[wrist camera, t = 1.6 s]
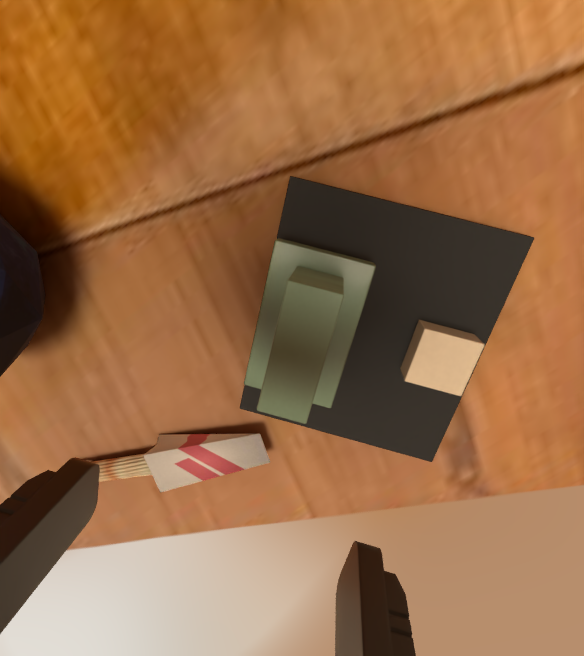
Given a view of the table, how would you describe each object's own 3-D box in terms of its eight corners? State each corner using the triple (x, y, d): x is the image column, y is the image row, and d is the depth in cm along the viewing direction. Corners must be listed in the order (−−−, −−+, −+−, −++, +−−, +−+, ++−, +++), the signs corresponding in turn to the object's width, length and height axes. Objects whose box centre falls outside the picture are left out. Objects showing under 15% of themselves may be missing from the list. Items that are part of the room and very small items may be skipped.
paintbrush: (268, 481, 29) (63, 502, 34) (275, 457, 31) (83, 480, 36) (253, 439, 28) (43, 468, 33) (262, 419, 30) (66, 448, 35)
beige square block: (418, 319, 26) (424, 328, 24) (474, 334, 26) (485, 344, 24) (399, 369, 27) (404, 381, 25) (453, 383, 27) (461, 396, 25)
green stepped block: (281, 235, 25) (260, 248, 18) (372, 259, 25) (384, 280, 18) (252, 368, 29) (224, 420, 22) (331, 390, 28) (329, 449, 22)
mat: (291, 176, 24) (290, 176, 24) (530, 236, 24) (534, 237, 23) (241, 404, 31) (239, 408, 30) (430, 457, 30) (431, 462, 29)
